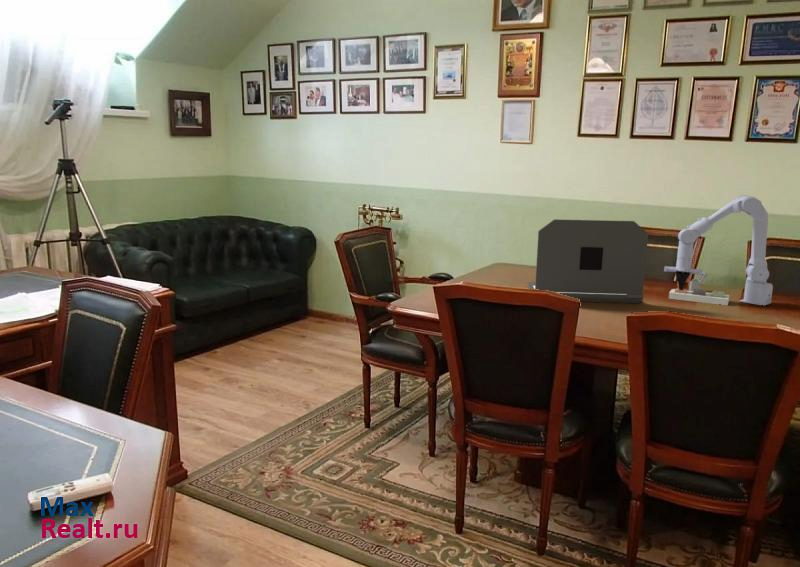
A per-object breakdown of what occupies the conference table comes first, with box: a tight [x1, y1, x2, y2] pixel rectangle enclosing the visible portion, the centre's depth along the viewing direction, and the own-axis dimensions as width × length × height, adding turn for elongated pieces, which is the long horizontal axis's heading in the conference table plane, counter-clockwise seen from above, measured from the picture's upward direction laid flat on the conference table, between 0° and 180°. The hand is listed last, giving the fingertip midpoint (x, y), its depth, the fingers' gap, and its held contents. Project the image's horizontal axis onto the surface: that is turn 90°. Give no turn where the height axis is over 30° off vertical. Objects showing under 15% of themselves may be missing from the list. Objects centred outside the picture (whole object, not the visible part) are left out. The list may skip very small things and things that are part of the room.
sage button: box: [711, 290, 725, 298], centre depth 252 cm, size 4×4×3 cm
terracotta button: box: [674, 287, 688, 294], centre depth 259 cm, size 4×4×3 cm
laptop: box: [526, 218, 649, 304], centre depth 261 cm, size 43×31×34 cm
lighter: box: [688, 272, 708, 291], centre depth 273 cm, size 7×2×8 cm, turn 100°
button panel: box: [668, 288, 730, 306], centre depth 256 cm, size 22×9×2 cm, turn 60°
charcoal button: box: [693, 288, 707, 296], centre depth 256 cm, size 4×4×3 cm
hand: (681, 289), depth 259 cm, fingers closed, pressing on terracotta button
